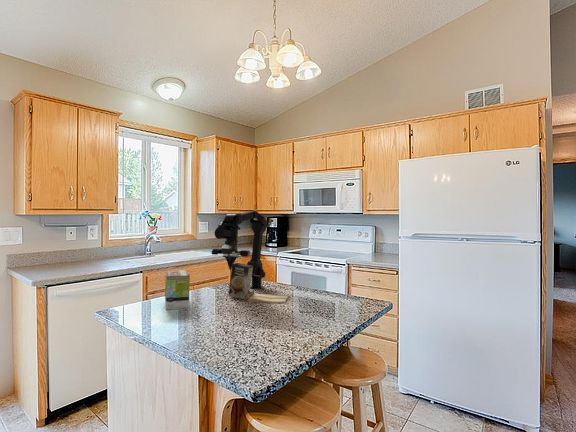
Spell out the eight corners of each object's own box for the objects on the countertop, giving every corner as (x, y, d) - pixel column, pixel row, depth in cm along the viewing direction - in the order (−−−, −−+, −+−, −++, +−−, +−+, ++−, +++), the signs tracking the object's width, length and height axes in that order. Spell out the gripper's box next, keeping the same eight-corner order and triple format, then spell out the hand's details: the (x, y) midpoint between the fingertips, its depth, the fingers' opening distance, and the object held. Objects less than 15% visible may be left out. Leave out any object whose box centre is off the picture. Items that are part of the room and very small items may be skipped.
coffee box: (227, 295, 164) (231, 264, 163) (233, 293, 170) (237, 262, 170) (244, 299, 162) (248, 267, 161) (249, 296, 168) (253, 265, 167)
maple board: (253, 295, 171) (253, 293, 171) (288, 296, 168) (288, 295, 168) (247, 301, 158) (247, 300, 158) (284, 303, 155) (284, 301, 155)
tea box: (189, 308, 146) (190, 274, 146) (165, 310, 142) (165, 276, 142) (186, 299, 160) (187, 269, 160) (164, 301, 156) (165, 270, 156)
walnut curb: (251, 294, 172) (251, 289, 172) (254, 294, 172) (254, 289, 172) (244, 301, 158) (244, 296, 158) (247, 301, 158) (247, 296, 158)
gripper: (208, 238, 160) (206, 270, 159) (245, 240, 157) (243, 273, 157) (216, 237, 171) (214, 267, 170) (251, 239, 168) (249, 270, 168)
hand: (230, 269), depth 166 cm, fingers closed
